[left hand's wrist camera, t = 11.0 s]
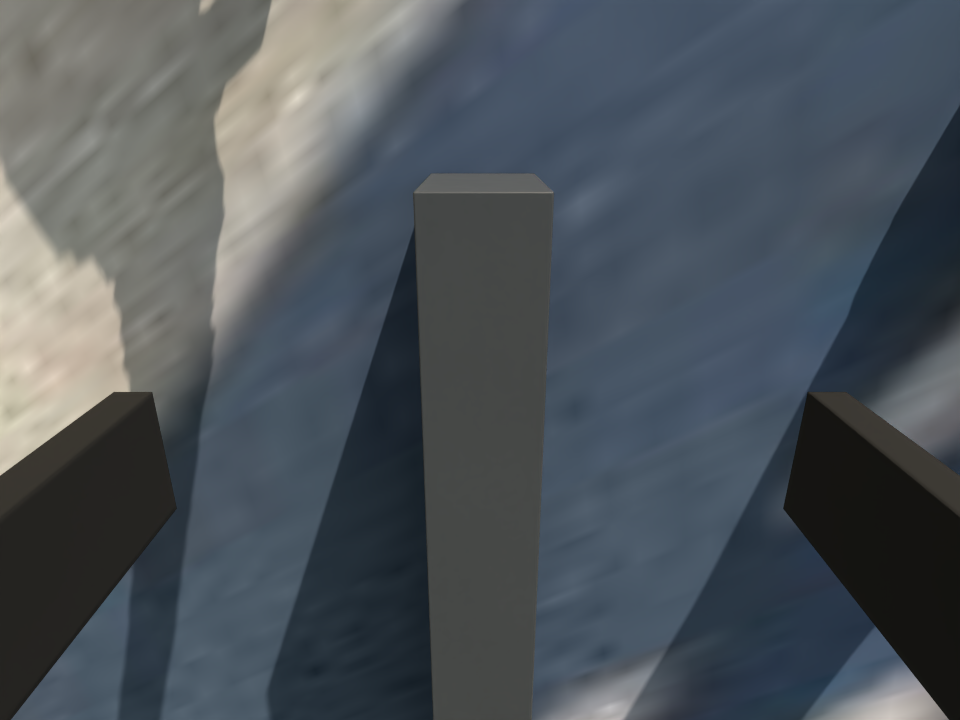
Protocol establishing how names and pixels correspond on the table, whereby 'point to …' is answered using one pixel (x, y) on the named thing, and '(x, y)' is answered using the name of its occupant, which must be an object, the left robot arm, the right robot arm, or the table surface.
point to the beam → (483, 431)
